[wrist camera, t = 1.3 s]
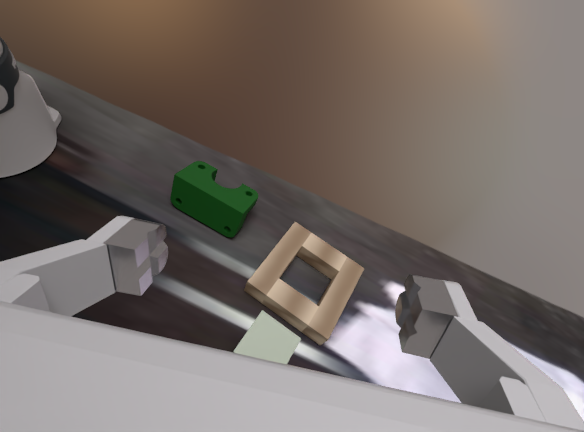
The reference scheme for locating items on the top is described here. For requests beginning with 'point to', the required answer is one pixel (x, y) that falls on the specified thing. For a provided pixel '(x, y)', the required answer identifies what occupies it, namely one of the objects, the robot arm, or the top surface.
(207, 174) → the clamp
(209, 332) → the top surface
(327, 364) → the top surface
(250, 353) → the peg
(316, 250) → the socket block
